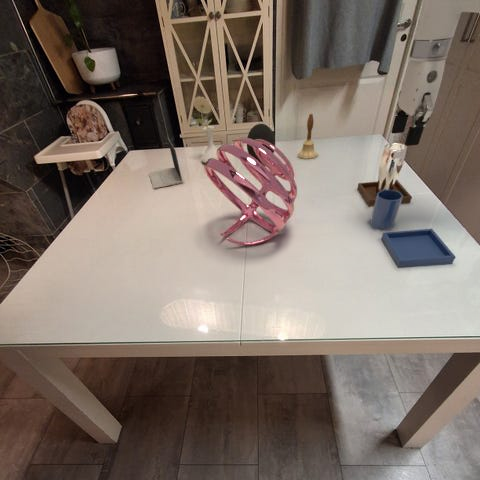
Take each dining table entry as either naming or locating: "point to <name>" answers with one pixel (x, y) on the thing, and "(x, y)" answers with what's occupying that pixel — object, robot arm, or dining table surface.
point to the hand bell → (308, 142)
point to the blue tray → (417, 248)
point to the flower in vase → (206, 128)
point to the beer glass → (390, 166)
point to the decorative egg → (260, 133)
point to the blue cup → (386, 209)
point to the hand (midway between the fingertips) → (404, 138)
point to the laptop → (167, 173)
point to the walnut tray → (370, 198)
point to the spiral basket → (257, 196)
